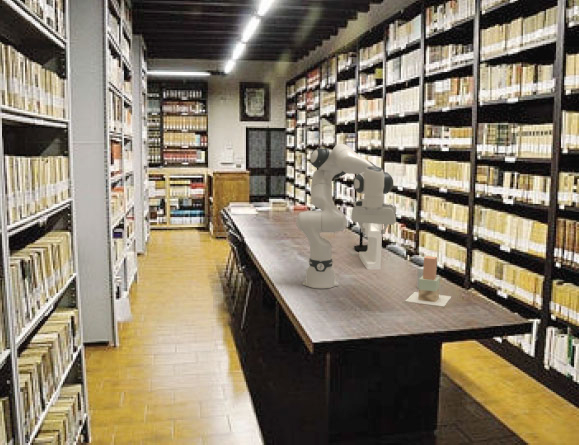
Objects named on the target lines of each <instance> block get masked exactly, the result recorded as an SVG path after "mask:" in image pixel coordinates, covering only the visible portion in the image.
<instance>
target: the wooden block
mask: <svg viewBox="0 0 579 445" xmlns="http://www.w3.org/2000/svg"><path fill="white" fill-rule="evenodd" d="M418 292H419V296H418V300H424V301H432V302H436V301H437V299H438V298H439V295H440V288H439V289H438V290H437V291H436V292H435V291H427V290H419V289H418Z"/></svg>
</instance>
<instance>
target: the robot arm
mask: <svg viewBox="0 0 579 445" xmlns="http://www.w3.org/2000/svg"><path fill="white" fill-rule="evenodd" d="M309 160H310V164H311V165H312V166H313V167H314V168H316V170H315V171H314V172H313V174H312V178H311V182H310V183H311V185H310V201H311V204H312V205H313V206H314V207H315V208H317V209H319V210H306V211H305V210H304V211H301V212H299V213H298V215H297V216H296V220H295V222H296V223H295V224H296V226H297V228H298V230H299V231H300V232H302V233H303V234H304V235H305V237H306V238H307V240H308V243H309V252H310V253H309V257H310V258H309V260H308V267H307V269H306V271H305V274H306V275H305V280H304V281H302V285H303V286H305V287H306V286H307V287H309V288H313V289H330V288H334V287H339V285H340V284H339V282H338V281H337V280H336V270H335V269H334V267H333V262H334V261H333V258H332V256H333V255H332V252H333V246H332V243H331V242H330V241H329V240H328V239H325V237H322V236H321V234H320V233H338V232H343V231H344V230H345V228H346V226H347V224H348V220H347V216H346V215H345V213H344V212H342V211H341V210H339V209H338V208H337V206H336V204H335V203H334V199H333V185H332V184H333V182H332V181H333V179H334V178H335V179H339V178H340V177H343V176H344V175H346V174H350V175H351V174H352V175H353V174H354V175H356V176H355V177H354V178H353V189H354V190H355V191H356V192H357V193H358V194H362V195H364V196H363V198H362V199H359V200H355V201H353V207H352V210H351V216H350V217H351V218H350V219H351V221H352V222H353V223H358V222H359V224H358V226H359V229H360V228H361V232H363V233H364V232H365V228H363V226H362V224H363V223H375V224H382V225H383V228H382V230H381V234H382V235H385V234H386V229H387V228H388V227H389V226H390V225H393V226H394V224H396V222H397V217H396V216H397V215H396V213H397V207H396V205H395V204H393V203H385V200H384V199H385V195H387V194H389V193H390V191H391V190H393V187H394V179H393V176H392V175H391V174H390V173H389V172H388V171H387V172H385V171H384V169H383V168H382V167H380V166H377V165H375V164H374V163H373V162H371V161H369V160H368V159H366V158H365V157H362V156H361V155H359V154H358V153H356V151H354V150H353V148H352V147H350V146H349V145H347V144H345V143H338V144H336V145H334V147H333V149H332V150H330V149H328V148H327V147H325V148H324V147H318V148H316V149H315V148H314V150H313V151H312V153H311V155H310V158H309Z"/></svg>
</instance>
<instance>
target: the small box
mask: <svg viewBox="0 0 579 445" xmlns="http://www.w3.org/2000/svg"><path fill="white" fill-rule="evenodd" d="M423 268H424V266H421V267H418V268H417V275H416V277H417V278H416V280H417V282H416V288H417V289H419V279H420V278H421V277H422V276H423Z"/></svg>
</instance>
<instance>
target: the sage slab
mask: <svg viewBox="0 0 579 445" xmlns="http://www.w3.org/2000/svg"><path fill="white" fill-rule="evenodd" d="M440 285H441V278H440V277H439V276H436V278H435V279H434V280H429V279H423V276H422V277H421V278H420V279H419V288H418V291H419V290H427V291H435V292H436V291H437V290H438V289H439V290H440V287H441V286H440Z"/></svg>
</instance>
